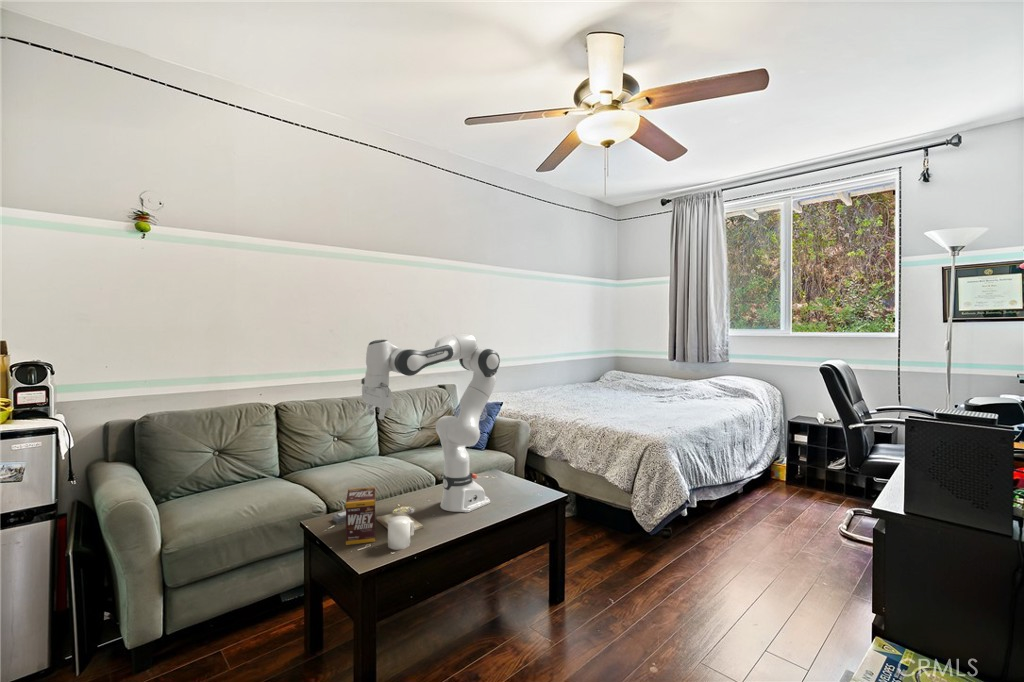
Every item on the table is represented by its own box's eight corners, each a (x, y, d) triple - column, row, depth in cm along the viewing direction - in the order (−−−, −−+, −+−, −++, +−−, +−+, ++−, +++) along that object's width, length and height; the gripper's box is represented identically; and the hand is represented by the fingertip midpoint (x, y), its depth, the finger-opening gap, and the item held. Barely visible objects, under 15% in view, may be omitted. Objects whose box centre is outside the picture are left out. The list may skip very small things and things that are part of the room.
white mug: (407, 536, 180) (407, 513, 179) (417, 544, 173) (417, 520, 173) (384, 543, 174) (384, 519, 173) (393, 551, 168) (393, 526, 167)
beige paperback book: (402, 512, 201) (402, 509, 201) (423, 527, 187) (423, 524, 187) (376, 519, 194) (376, 516, 194) (395, 535, 180) (395, 532, 180)
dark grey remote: (368, 510, 204) (368, 503, 204) (374, 513, 201) (374, 507, 201) (332, 521, 193) (332, 514, 193) (338, 525, 190) (338, 517, 190)
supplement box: (345, 545, 172) (345, 503, 171) (347, 527, 187) (347, 488, 186) (375, 542, 175) (375, 500, 174) (375, 524, 189) (375, 486, 189)
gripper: (396, 384, 177) (395, 421, 178) (374, 378, 193) (373, 412, 194) (380, 385, 174) (379, 422, 174) (359, 379, 189) (358, 413, 190)
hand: (376, 417), depth 184 cm, fingers open, 8 cm apart
